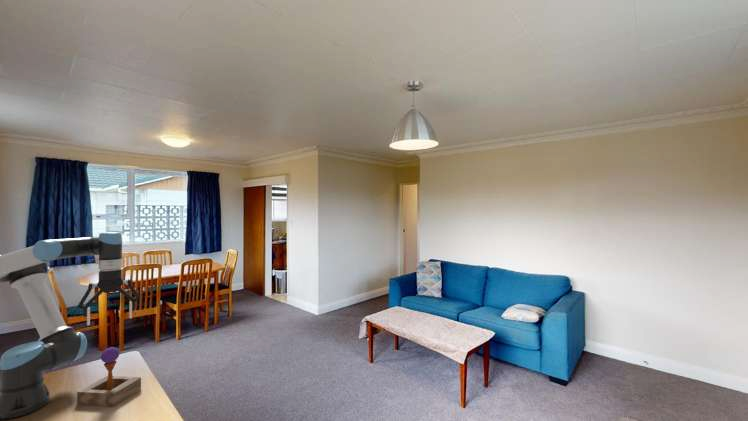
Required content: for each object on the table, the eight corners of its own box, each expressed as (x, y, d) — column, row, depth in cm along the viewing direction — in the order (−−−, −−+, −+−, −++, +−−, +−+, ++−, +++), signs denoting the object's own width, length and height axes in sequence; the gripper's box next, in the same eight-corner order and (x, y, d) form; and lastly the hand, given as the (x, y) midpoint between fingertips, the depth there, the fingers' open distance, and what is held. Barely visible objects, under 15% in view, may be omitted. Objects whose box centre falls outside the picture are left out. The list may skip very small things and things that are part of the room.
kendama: (106, 401, 131) (106, 351, 131) (97, 398, 133) (97, 349, 133) (122, 394, 136) (122, 345, 137) (113, 391, 139) (113, 344, 139)
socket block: (76, 404, 129) (77, 391, 129) (107, 387, 142) (107, 375, 142) (113, 406, 127) (113, 393, 127) (140, 389, 140) (141, 377, 140)
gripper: (68, 274, 125) (68, 330, 125) (147, 267, 141) (147, 317, 140) (70, 271, 131) (70, 325, 130) (146, 265, 146) (146, 313, 146)
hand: (110, 321), depth 135 cm, fingers open, 13 cm apart
